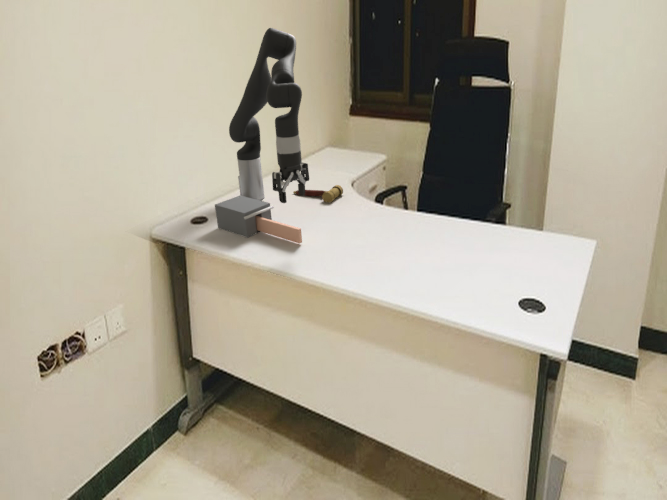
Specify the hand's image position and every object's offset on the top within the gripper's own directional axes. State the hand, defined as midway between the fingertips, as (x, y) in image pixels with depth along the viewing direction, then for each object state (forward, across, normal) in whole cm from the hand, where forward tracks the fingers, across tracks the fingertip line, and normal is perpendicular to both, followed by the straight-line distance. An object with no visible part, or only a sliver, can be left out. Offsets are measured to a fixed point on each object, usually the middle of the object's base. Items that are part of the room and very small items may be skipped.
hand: (292, 198), depth 182 cm
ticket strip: (+15, 0, -9) cm, 18 cm away
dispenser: (+16, 0, -26) cm, 30 cm away
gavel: (+16, -40, -27) cm, 51 cm away
